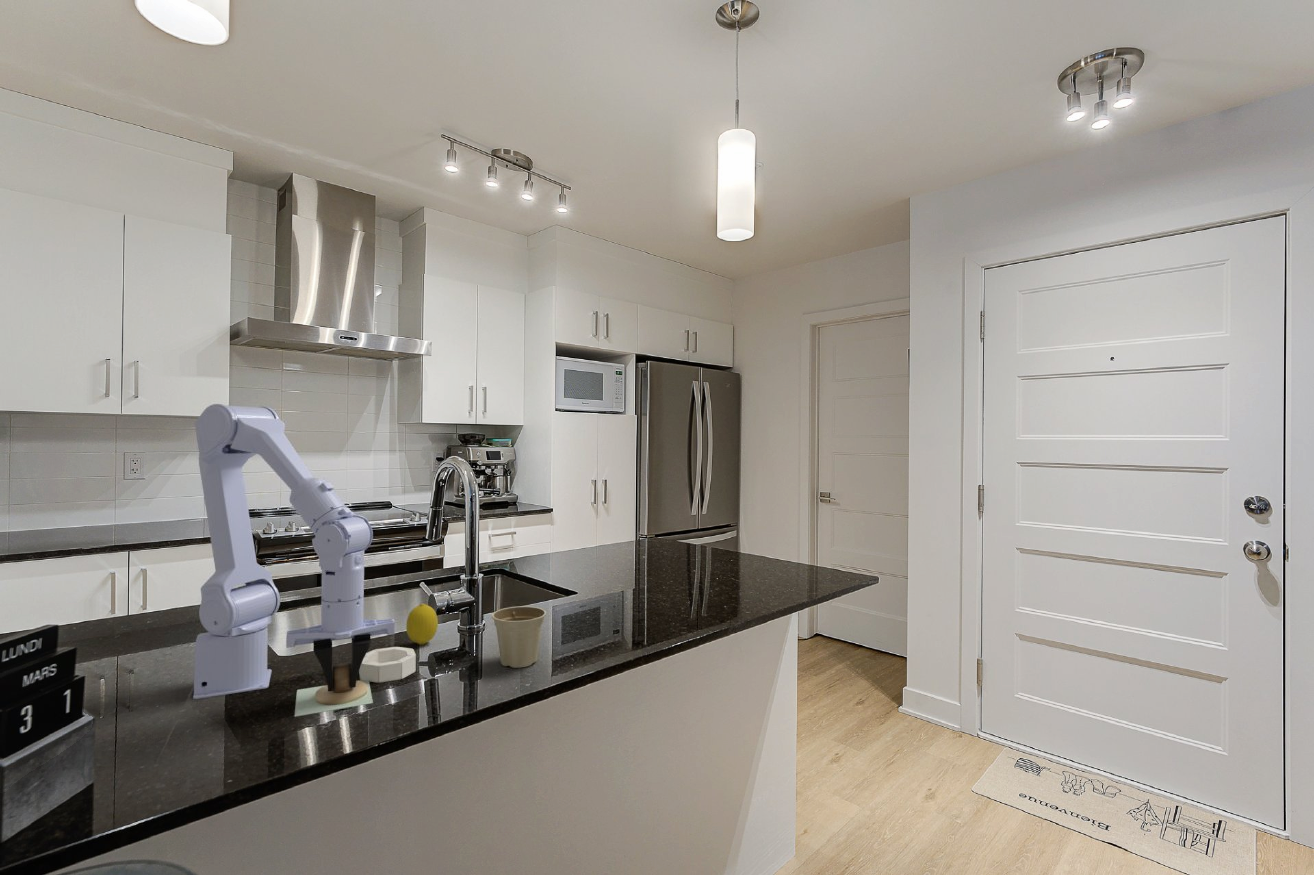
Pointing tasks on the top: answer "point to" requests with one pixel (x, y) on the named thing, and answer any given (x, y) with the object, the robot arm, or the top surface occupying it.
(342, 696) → the lid
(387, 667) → the bowl
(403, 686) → the top surface
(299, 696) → the mat
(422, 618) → the lemon
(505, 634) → the flower pot
